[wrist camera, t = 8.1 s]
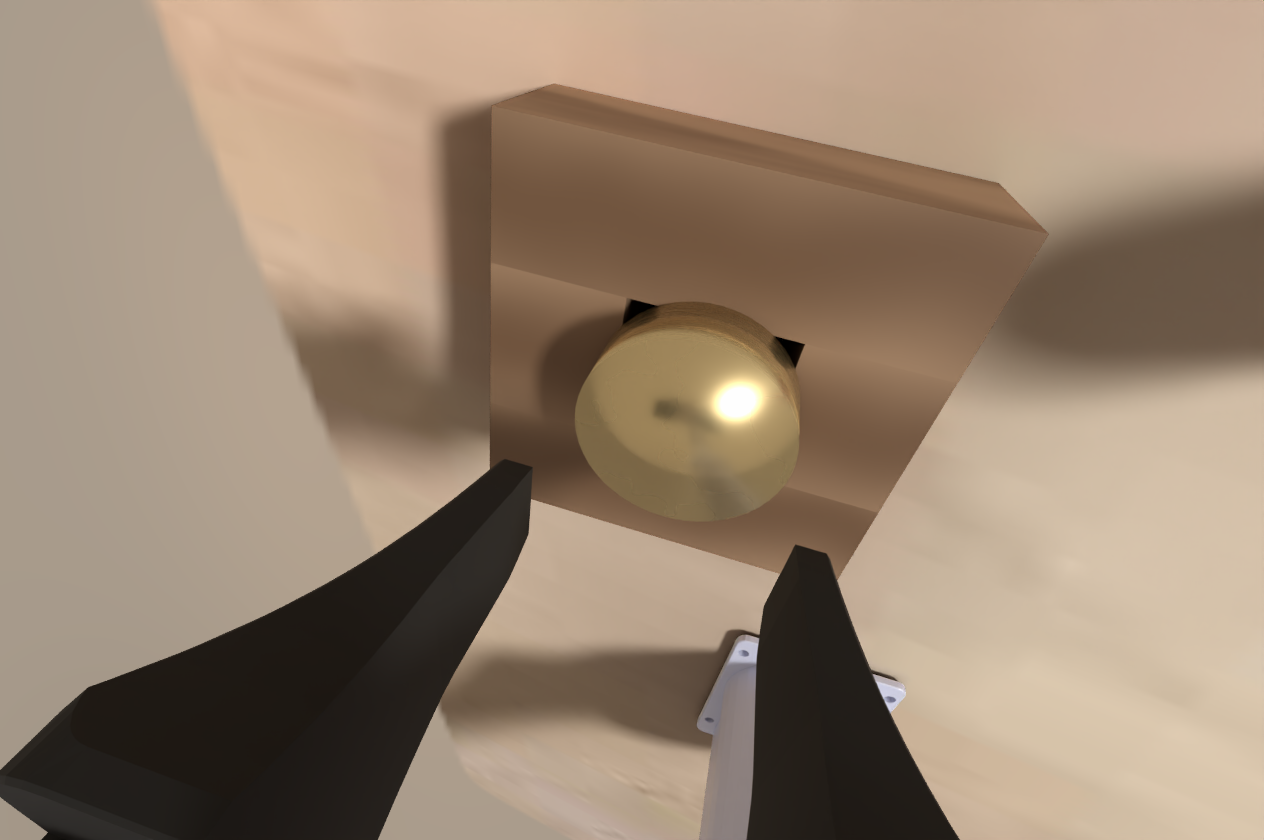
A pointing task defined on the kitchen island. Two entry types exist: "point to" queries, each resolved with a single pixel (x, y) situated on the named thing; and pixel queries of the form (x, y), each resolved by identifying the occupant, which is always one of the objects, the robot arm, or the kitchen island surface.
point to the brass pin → (691, 412)
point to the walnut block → (737, 295)
